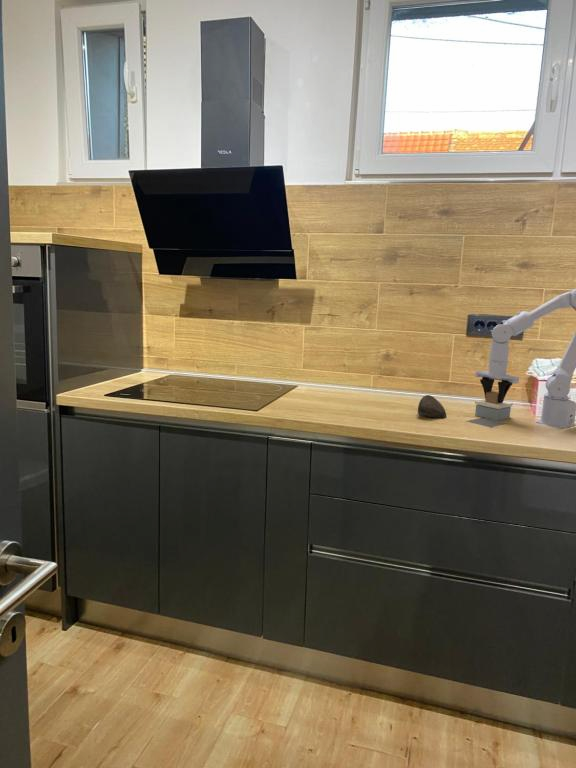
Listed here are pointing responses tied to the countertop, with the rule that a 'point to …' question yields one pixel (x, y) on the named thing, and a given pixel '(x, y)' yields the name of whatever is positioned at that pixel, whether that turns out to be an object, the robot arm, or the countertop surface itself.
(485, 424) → the mat
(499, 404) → the lid
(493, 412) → the box
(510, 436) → the countertop surface
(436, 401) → the stone
